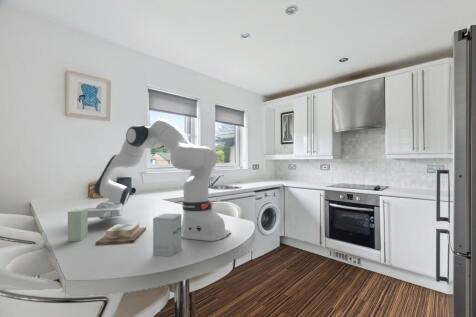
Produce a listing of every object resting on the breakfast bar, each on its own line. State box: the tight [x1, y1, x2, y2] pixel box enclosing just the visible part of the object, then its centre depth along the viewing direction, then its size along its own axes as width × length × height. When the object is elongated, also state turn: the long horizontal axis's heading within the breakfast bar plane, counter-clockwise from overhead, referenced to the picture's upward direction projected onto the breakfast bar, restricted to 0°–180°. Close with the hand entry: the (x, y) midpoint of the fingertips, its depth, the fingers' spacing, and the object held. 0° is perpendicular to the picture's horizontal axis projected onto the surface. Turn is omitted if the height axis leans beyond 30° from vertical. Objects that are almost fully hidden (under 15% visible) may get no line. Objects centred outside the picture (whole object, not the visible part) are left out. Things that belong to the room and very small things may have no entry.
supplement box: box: [152, 213, 183, 257], centre depth 78 cm, size 7×7×13 cm
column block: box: [67, 208, 89, 242], centre depth 93 cm, size 5×5×12 cm
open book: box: [94, 223, 147, 246], centre depth 96 cm, size 14×18×4 cm
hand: (92, 216), depth 105 cm, fingers open, 8 cm apart
